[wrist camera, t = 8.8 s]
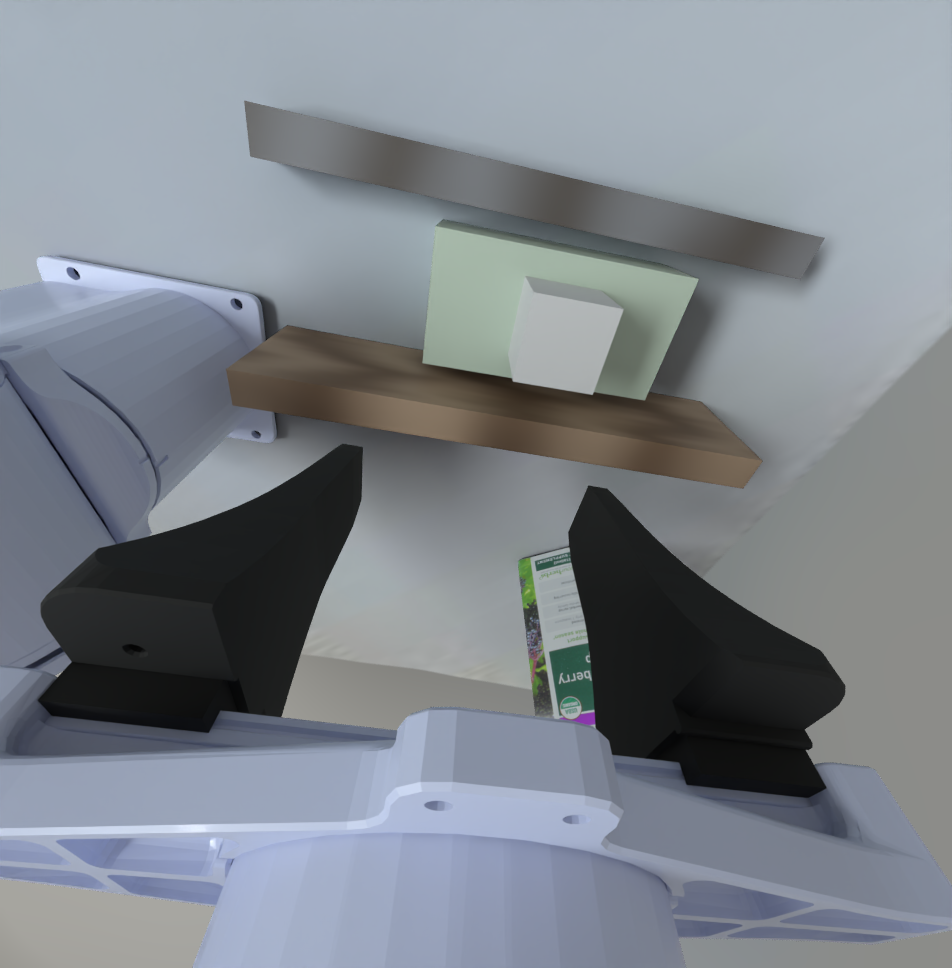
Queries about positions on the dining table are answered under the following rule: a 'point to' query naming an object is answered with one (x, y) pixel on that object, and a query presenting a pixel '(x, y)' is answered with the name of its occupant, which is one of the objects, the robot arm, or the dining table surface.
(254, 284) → the dining table surface
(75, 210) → the dining table surface
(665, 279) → the mint block with knob
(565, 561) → the syrup box
